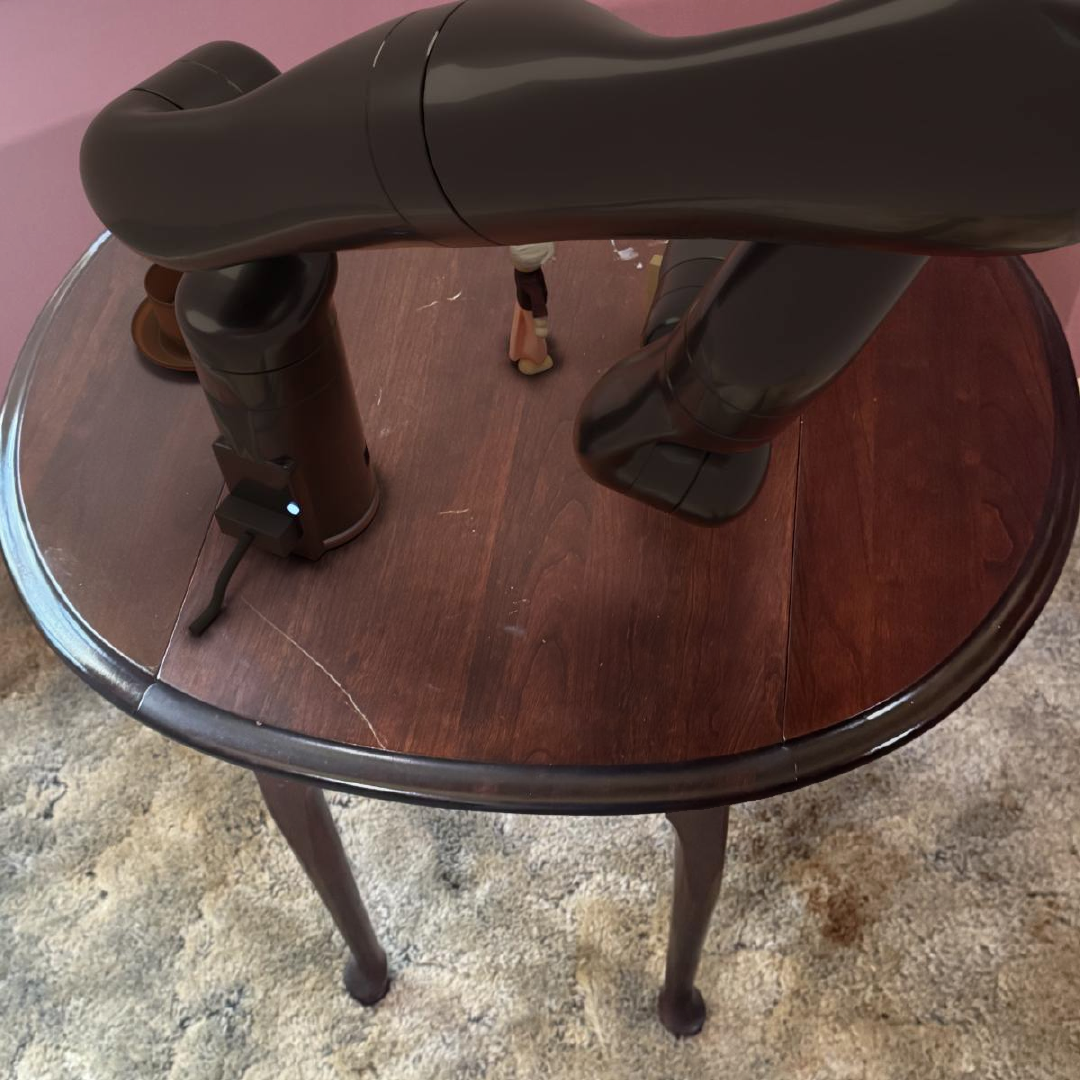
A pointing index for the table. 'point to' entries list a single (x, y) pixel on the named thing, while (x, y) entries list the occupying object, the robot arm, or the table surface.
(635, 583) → the table surface
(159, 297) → the cup and saucer
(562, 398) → the table surface
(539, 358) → the grandmother figurine
